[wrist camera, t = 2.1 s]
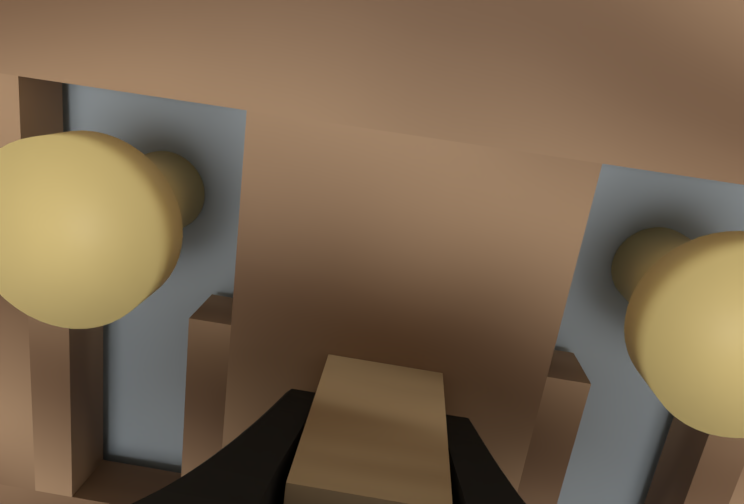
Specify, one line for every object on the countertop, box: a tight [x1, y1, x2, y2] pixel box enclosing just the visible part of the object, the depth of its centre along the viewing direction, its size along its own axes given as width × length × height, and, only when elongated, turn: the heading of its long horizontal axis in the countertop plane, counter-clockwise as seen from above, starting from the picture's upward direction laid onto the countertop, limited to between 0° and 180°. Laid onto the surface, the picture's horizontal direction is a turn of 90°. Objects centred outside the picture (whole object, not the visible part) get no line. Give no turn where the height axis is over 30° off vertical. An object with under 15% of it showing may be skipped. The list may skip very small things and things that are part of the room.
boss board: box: [0, 83, 744, 504], centre depth 12 cm, size 22×20×5 cm
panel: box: [0, 0, 744, 504], centre depth 11 cm, size 16×20×5 cm
